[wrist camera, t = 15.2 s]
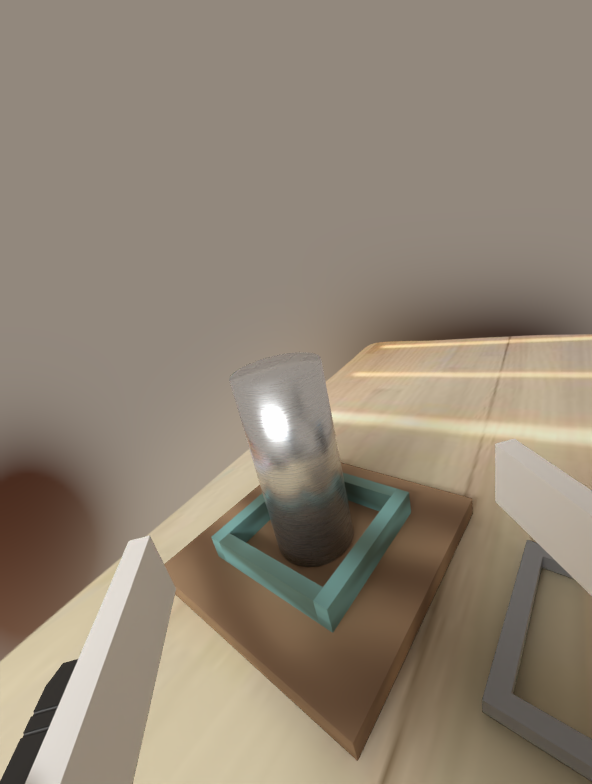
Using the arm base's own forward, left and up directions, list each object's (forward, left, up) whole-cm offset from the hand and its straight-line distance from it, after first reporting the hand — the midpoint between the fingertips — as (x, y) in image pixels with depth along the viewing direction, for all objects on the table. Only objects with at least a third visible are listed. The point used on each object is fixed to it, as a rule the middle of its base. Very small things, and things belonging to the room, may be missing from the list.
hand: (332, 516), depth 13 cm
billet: (-7, -9, -11) cm, 16 cm away
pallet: (-7, -9, -13) cm, 17 cm away
